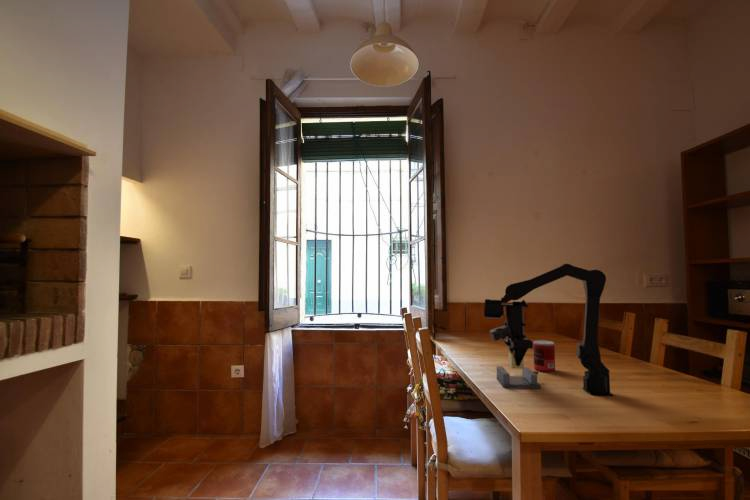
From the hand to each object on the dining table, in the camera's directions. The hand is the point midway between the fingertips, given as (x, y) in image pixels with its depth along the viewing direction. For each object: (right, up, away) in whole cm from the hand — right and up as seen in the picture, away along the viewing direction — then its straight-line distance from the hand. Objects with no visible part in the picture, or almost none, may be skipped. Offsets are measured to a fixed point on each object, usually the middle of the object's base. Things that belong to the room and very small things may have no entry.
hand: (516, 364), depth 127 cm
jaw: (+6, -5, -1) cm, 8 cm away
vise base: (0, -7, 0) cm, 7 cm away
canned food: (+18, -8, +18) cm, 27 cm away
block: (0, -1, 0) cm, 1 cm away
